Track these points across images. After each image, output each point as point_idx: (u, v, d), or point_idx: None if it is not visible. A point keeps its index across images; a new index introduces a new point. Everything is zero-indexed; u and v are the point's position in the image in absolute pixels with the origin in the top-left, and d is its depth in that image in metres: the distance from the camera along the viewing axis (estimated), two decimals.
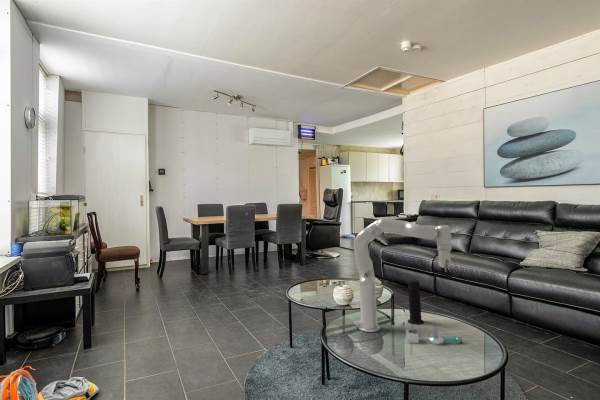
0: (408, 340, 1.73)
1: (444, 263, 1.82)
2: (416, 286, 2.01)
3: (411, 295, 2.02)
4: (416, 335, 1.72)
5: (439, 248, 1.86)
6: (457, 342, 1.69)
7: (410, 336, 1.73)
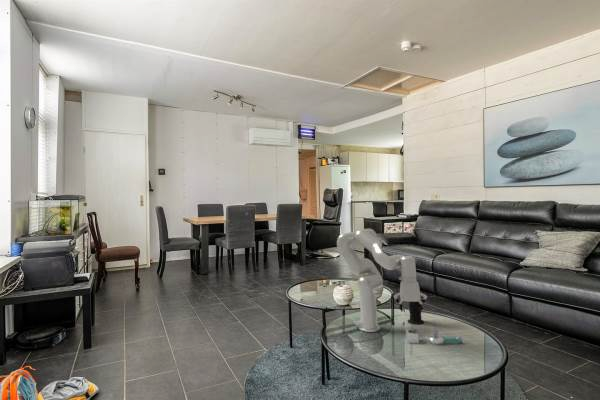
0: (408, 340, 1.73)
1: None
2: None
3: None
4: (416, 335, 1.72)
5: (413, 281, 1.73)
6: (457, 342, 1.69)
7: (410, 336, 1.73)
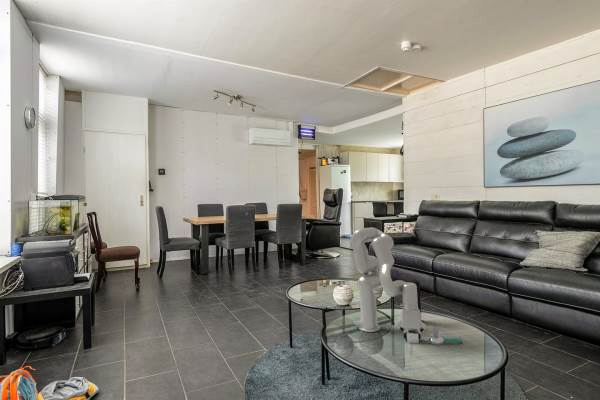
0: (408, 340, 1.73)
1: None
2: None
3: None
4: (416, 335, 1.72)
5: (415, 309, 1.73)
6: (457, 342, 1.69)
7: (410, 336, 1.73)
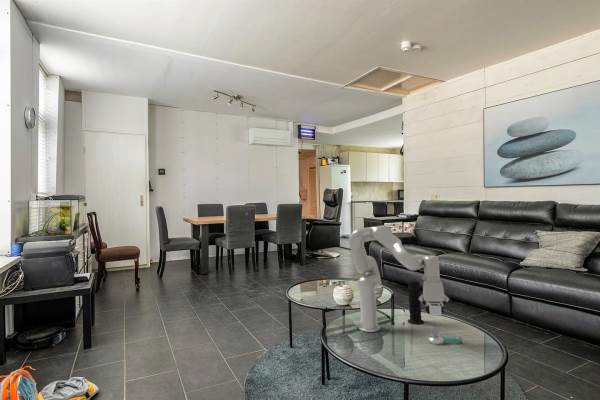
0: (431, 313, 1.71)
1: None
2: (416, 286, 2.01)
3: (411, 295, 2.02)
4: (439, 308, 1.70)
5: (437, 281, 1.70)
6: (457, 342, 1.69)
7: (432, 308, 1.71)
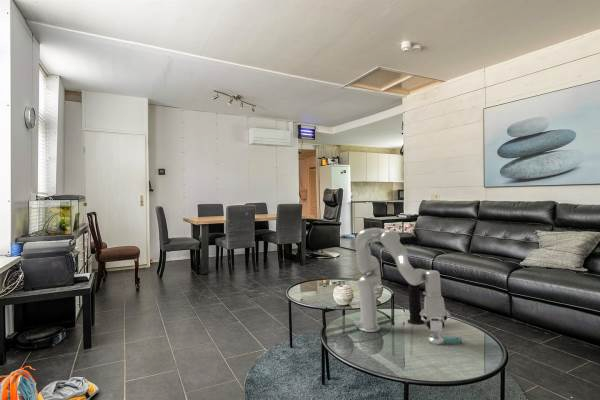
0: (432, 328, 1.71)
1: None
2: (416, 286, 2.01)
3: (411, 295, 2.02)
4: (440, 323, 1.70)
5: (438, 296, 1.70)
6: (457, 342, 1.69)
7: (433, 324, 1.70)
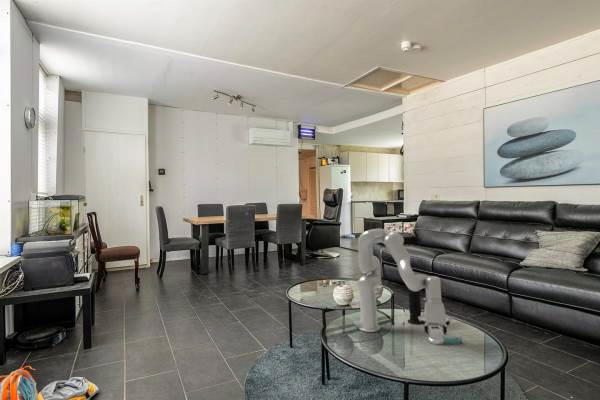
0: (432, 336, 1.71)
1: (445, 318, 1.71)
2: None
3: (411, 295, 2.02)
4: (440, 331, 1.70)
5: (438, 302, 1.70)
6: (457, 342, 1.69)
7: (433, 332, 1.71)
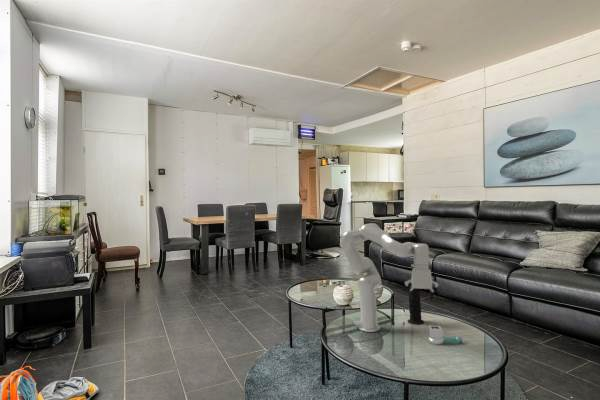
0: (432, 336, 1.71)
1: (431, 283, 1.74)
2: None
3: None
4: (440, 331, 1.70)
5: (426, 268, 1.73)
6: (457, 342, 1.69)
7: (433, 332, 1.71)
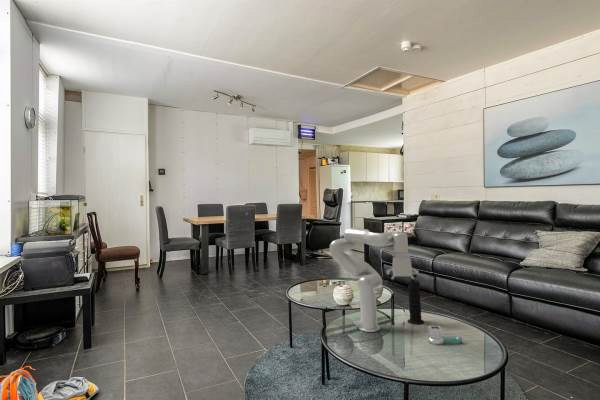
0: (432, 336, 1.71)
1: (412, 270, 1.79)
2: (416, 286, 2.01)
3: (411, 295, 2.02)
4: (440, 331, 1.70)
5: (405, 256, 1.78)
6: (457, 342, 1.69)
7: (433, 332, 1.71)
